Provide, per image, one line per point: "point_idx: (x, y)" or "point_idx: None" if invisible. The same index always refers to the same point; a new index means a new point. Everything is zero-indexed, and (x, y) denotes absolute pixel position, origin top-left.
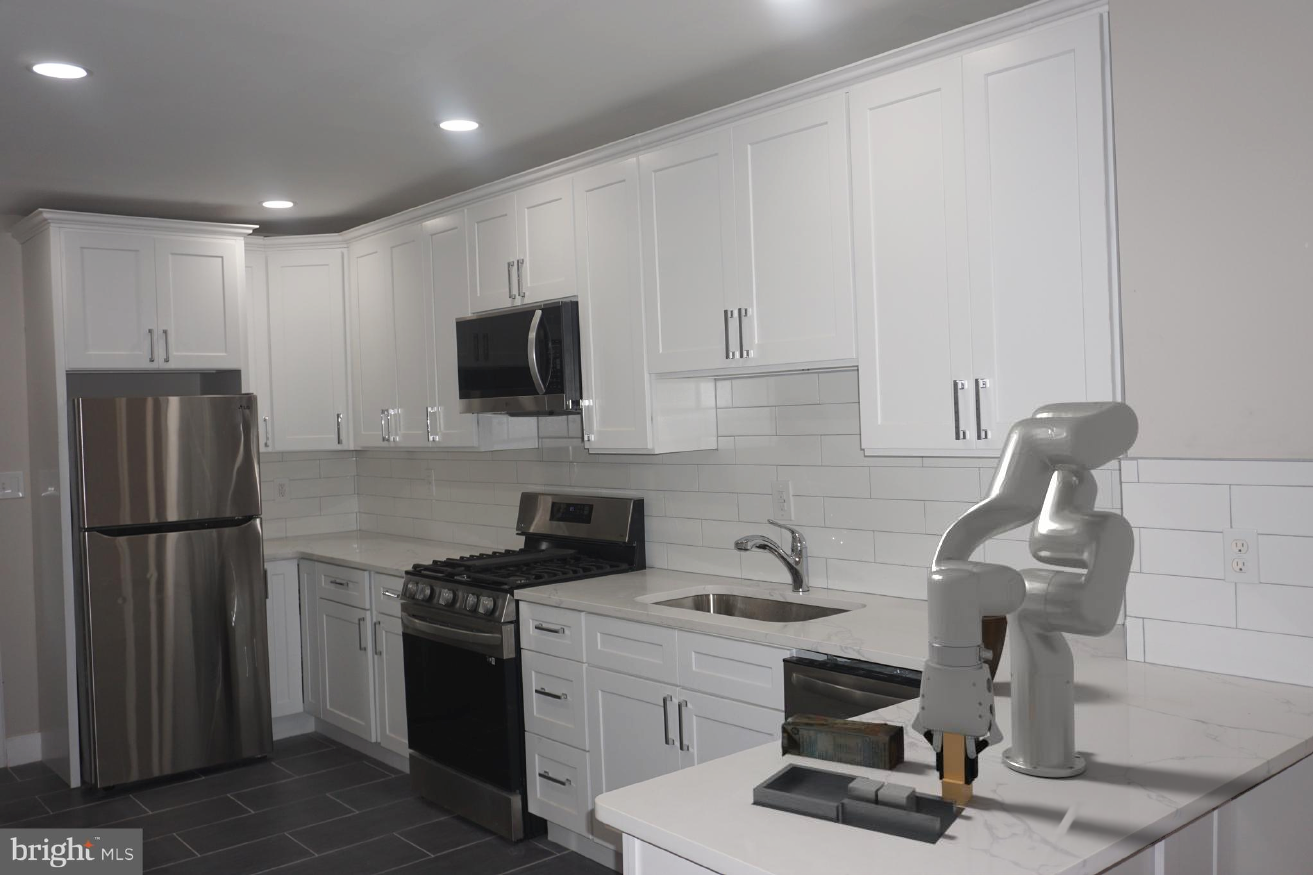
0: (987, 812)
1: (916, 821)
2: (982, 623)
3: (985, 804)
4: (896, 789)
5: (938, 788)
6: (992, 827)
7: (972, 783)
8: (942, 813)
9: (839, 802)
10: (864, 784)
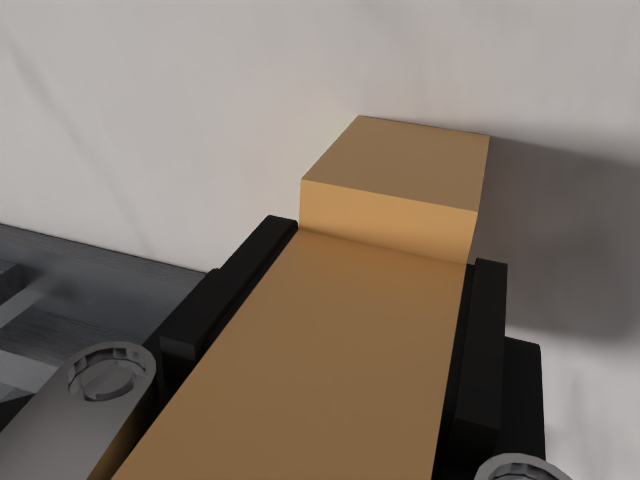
0: (589, 294)
1: None
2: None
3: (578, 178)
4: None
5: (248, 5)
6: (611, 455)
7: (483, 177)
8: None
9: (6, 386)
10: None
